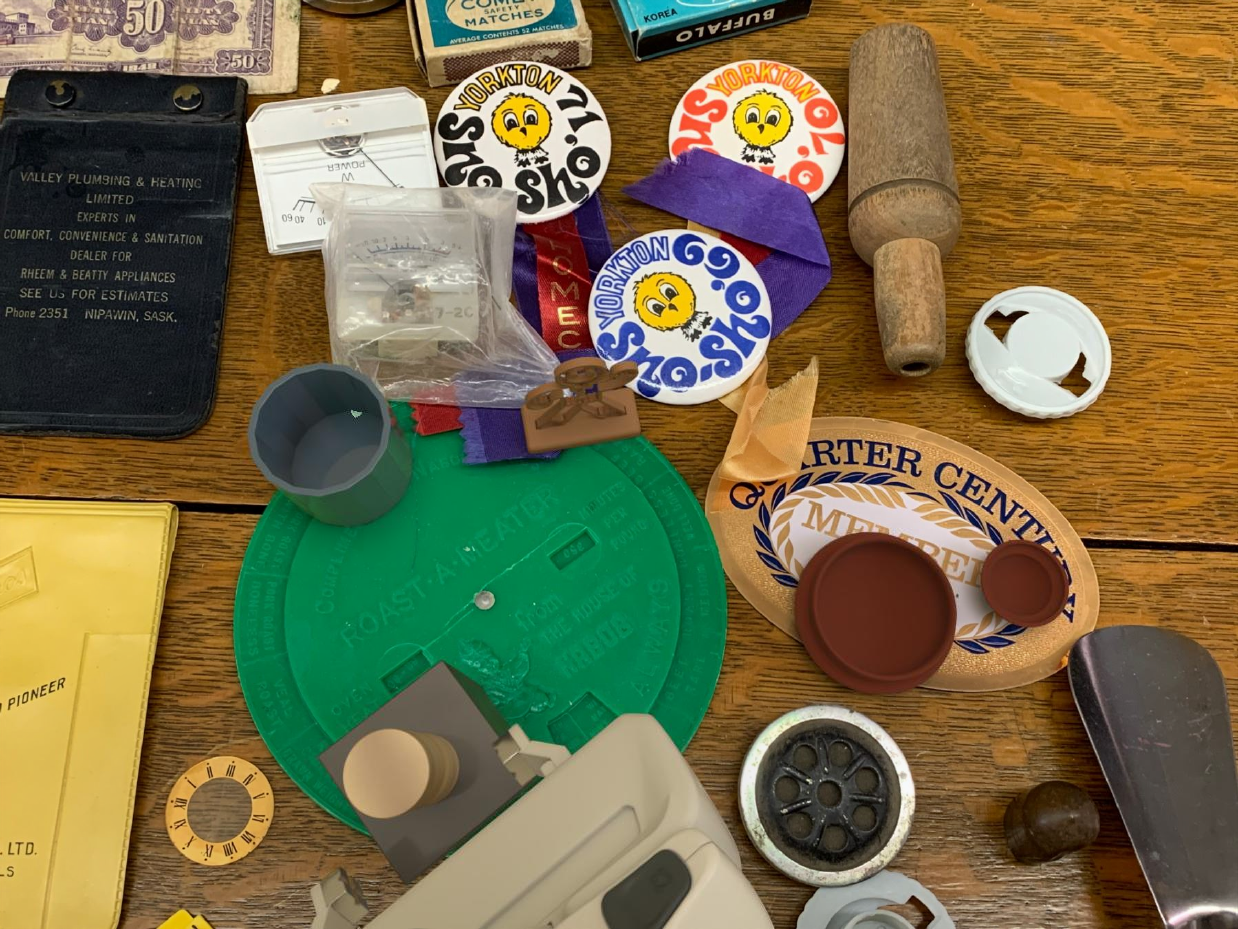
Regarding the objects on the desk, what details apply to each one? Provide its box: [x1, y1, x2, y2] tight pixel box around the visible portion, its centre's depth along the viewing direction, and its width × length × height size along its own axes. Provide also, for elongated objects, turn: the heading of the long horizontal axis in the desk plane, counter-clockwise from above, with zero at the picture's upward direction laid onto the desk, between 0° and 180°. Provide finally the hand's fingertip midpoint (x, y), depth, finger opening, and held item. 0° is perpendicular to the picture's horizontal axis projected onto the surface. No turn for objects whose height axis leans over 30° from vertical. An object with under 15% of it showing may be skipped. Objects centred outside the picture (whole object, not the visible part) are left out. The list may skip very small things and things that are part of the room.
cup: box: [246, 362, 414, 527], centre depth 68 cm, size 9×9×9 cm
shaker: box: [343, 728, 459, 819], centre depth 45 cm, size 4×4×10 cm
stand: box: [316, 659, 543, 886], centre depth 58 cm, size 8×8×18 cm
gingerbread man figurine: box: [520, 356, 642, 455], centre depth 69 cm, size 9×4×12 cm, turn 101°
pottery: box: [794, 531, 1070, 696], centre depth 69 cm, size 12×20×4 cm, turn 100°
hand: (424, 811), depth 42 cm, fingers open, 8 cm apart
